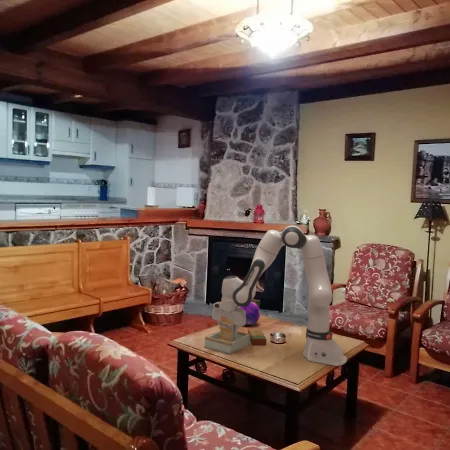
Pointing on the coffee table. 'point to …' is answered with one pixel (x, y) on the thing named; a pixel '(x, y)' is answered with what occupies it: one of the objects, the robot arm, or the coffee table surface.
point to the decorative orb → (251, 313)
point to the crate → (227, 342)
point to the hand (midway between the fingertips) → (228, 330)
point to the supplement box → (227, 329)
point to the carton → (257, 338)
